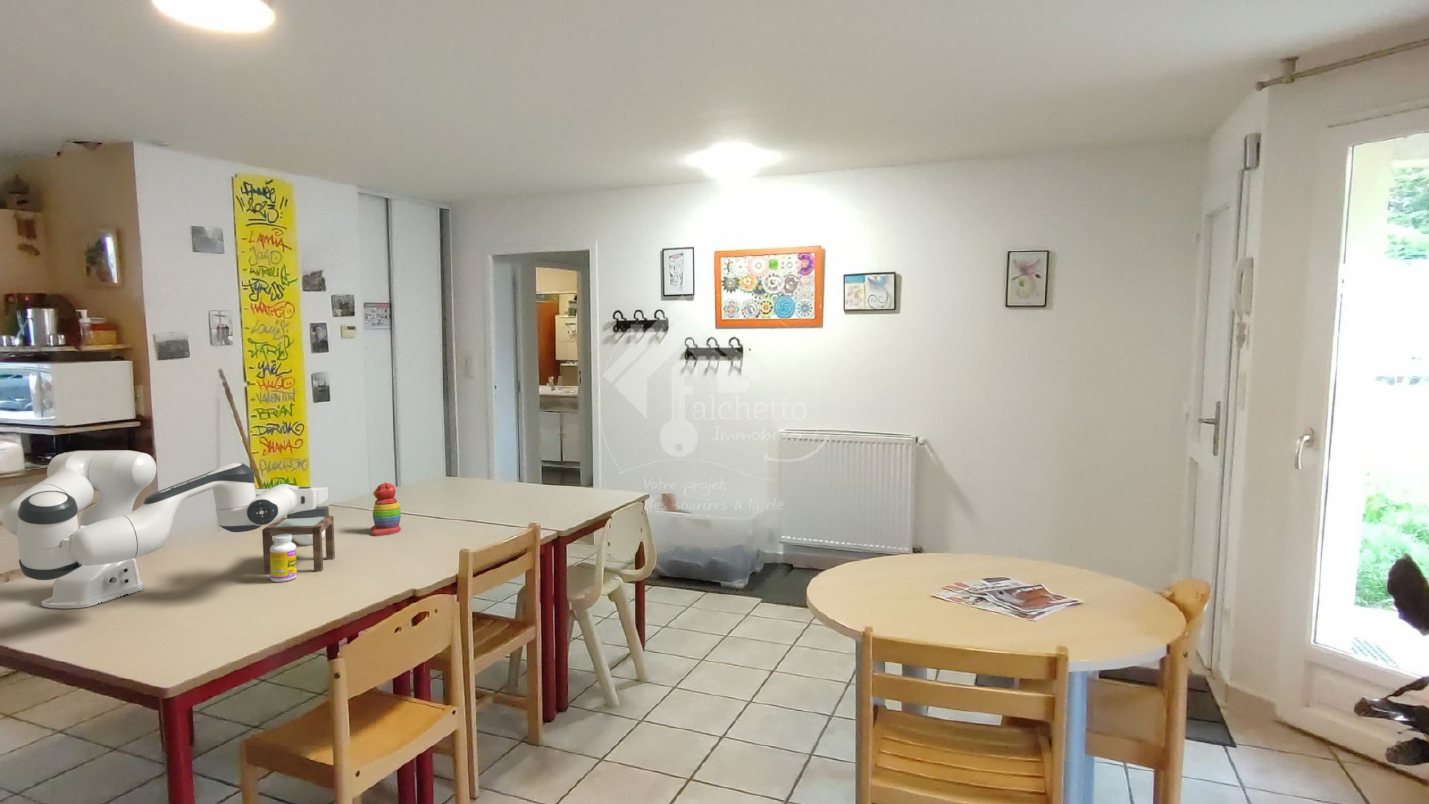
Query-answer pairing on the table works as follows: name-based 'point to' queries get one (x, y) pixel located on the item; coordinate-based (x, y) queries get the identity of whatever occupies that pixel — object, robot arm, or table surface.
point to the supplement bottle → (283, 559)
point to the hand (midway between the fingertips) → (298, 490)
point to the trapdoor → (305, 518)
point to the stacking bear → (385, 511)
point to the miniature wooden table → (316, 530)
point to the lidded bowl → (306, 538)
